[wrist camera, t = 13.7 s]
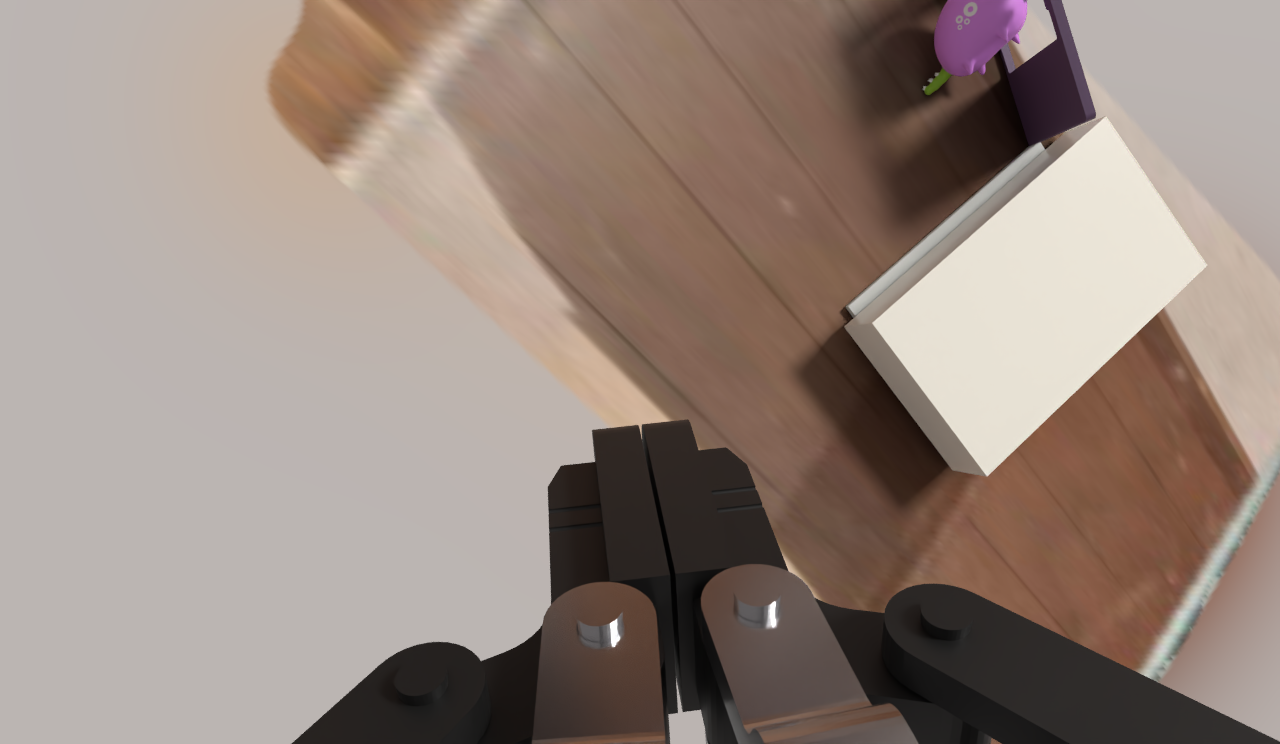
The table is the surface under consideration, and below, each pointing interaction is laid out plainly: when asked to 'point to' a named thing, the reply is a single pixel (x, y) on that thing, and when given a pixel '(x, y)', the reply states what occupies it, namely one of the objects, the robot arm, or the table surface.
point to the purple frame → (1042, 87)
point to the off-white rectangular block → (1027, 298)
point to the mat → (943, 229)
